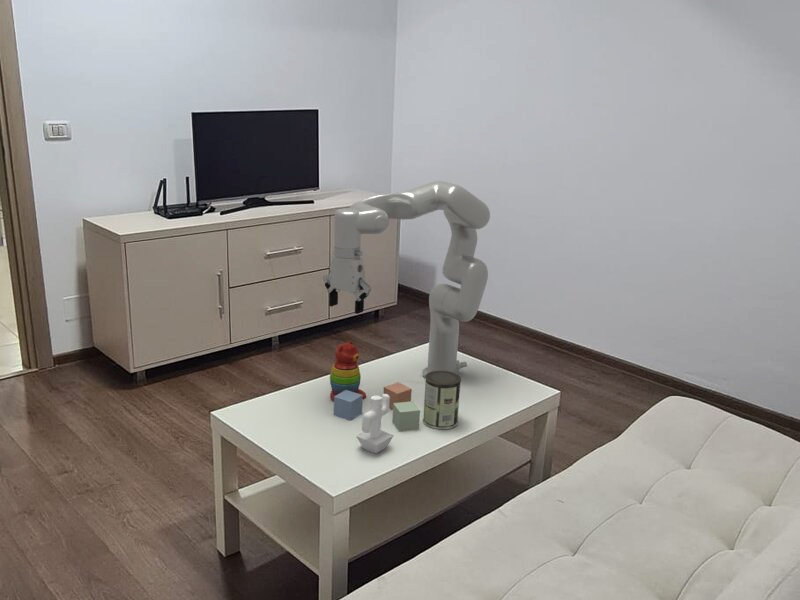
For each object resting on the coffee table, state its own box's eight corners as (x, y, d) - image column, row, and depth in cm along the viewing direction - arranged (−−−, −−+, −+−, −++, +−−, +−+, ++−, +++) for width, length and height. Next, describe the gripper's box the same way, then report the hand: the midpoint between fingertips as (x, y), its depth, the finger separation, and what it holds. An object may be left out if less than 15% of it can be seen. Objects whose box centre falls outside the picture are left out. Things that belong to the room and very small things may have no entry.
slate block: (345, 408, 222) (345, 389, 221) (361, 413, 220) (362, 395, 218) (333, 415, 217) (334, 396, 216) (350, 421, 215) (351, 402, 213)
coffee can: (439, 410, 224) (442, 367, 220) (464, 422, 217) (468, 378, 213) (415, 420, 217) (417, 375, 213) (440, 433, 210) (444, 387, 206)
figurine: (352, 449, 199) (354, 398, 194) (375, 437, 206) (377, 387, 201) (373, 458, 194) (376, 406, 190) (395, 445, 202) (398, 395, 197)
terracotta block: (396, 399, 230) (397, 382, 228) (410, 406, 226) (411, 388, 224) (382, 405, 226) (383, 387, 224) (396, 412, 222) (397, 393, 220)
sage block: (411, 419, 217) (412, 401, 215) (418, 429, 212) (420, 410, 210) (392, 422, 215) (393, 403, 213) (399, 431, 210) (400, 412, 208)
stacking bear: (346, 408, 222) (348, 353, 217) (321, 398, 228) (322, 344, 222) (369, 397, 230) (371, 343, 225) (344, 387, 236) (346, 335, 231)
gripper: (379, 255, 210) (377, 312, 215) (332, 244, 219) (332, 299, 225) (362, 260, 204) (361, 318, 209) (315, 249, 214) (315, 305, 219)
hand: (346, 308), depth 217 cm, fingers open, 9 cm apart
